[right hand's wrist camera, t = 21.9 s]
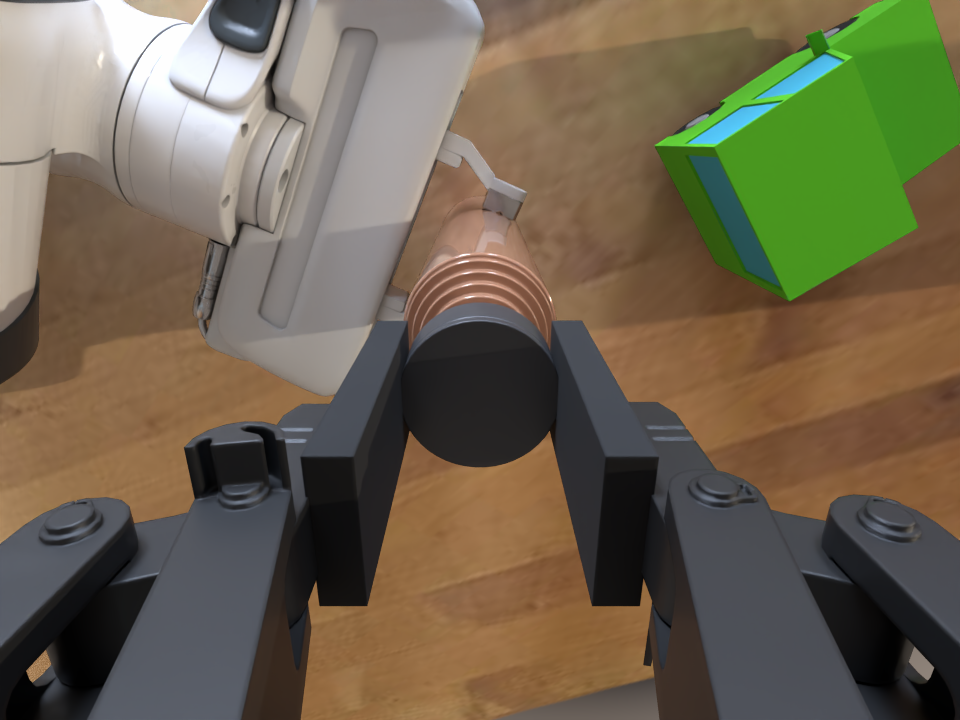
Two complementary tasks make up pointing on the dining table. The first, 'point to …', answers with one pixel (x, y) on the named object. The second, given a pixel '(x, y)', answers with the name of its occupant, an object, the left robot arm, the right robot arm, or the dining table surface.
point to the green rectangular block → (820, 150)
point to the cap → (479, 385)
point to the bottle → (479, 270)
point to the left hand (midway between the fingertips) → (496, 262)
